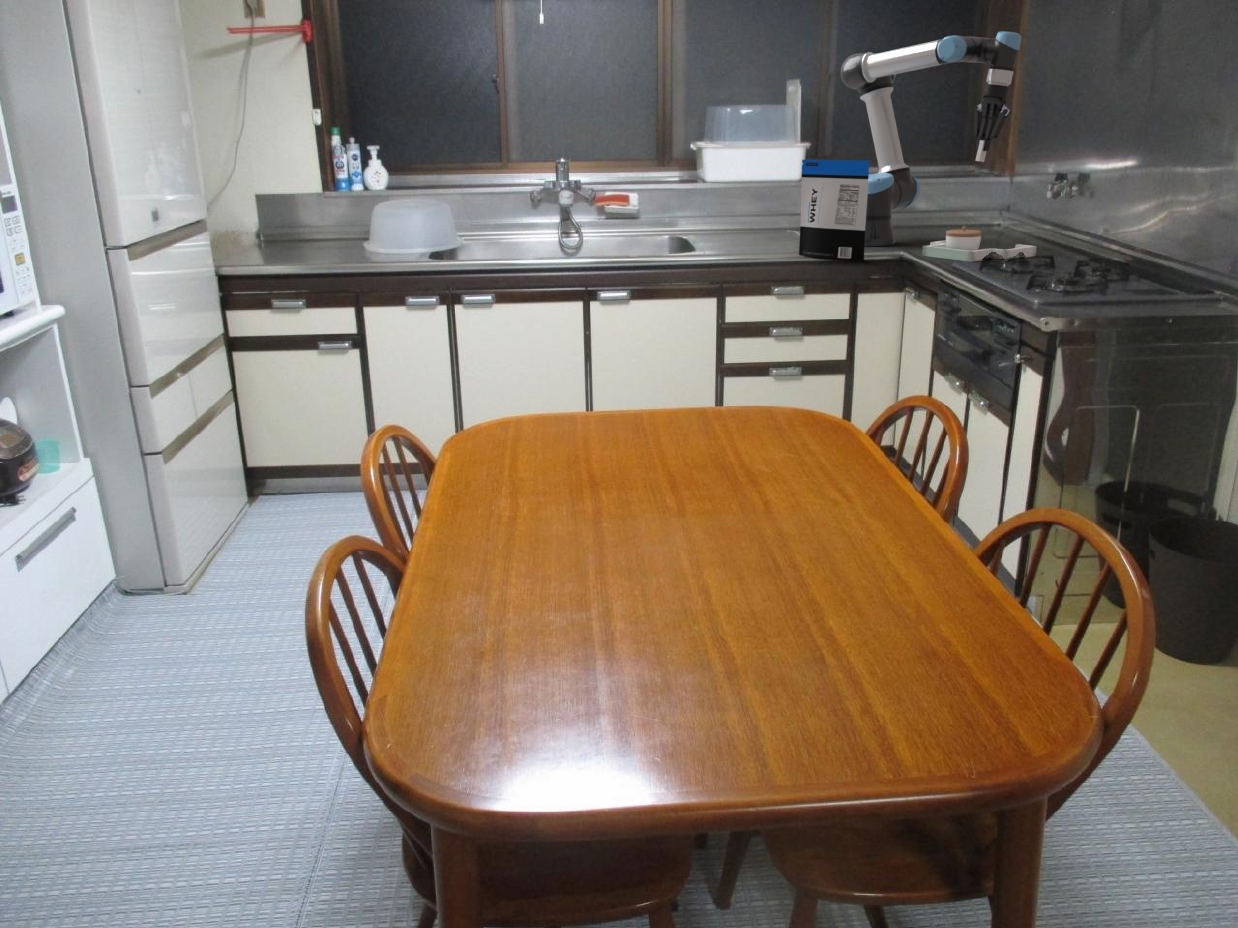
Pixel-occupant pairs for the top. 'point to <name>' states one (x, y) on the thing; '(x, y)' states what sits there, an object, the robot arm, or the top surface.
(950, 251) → the box
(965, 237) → the lidded jar
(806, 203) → the protein powder
